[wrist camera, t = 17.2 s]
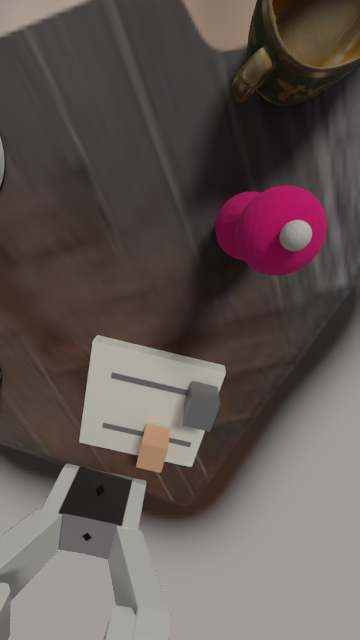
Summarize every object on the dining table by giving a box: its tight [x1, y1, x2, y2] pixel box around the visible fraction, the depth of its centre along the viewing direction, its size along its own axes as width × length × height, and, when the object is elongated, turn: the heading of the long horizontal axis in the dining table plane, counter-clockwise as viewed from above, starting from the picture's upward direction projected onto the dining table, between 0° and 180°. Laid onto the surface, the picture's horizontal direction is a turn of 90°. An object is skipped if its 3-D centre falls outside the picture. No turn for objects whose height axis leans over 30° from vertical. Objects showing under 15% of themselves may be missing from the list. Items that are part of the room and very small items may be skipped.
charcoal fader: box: [183, 381, 220, 432], centre depth 39 cm, size 4×5×4 cm
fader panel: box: [79, 335, 226, 467], centre depth 43 cm, size 20×20×2 cm
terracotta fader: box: [136, 424, 170, 473], centre depth 42 cm, size 4×5×4 cm
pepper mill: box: [215, 186, 327, 275], centre depth 24 cm, size 7×7×20 cm
